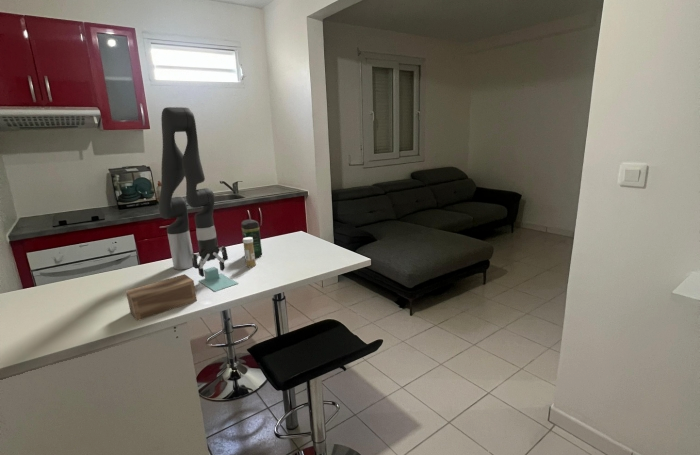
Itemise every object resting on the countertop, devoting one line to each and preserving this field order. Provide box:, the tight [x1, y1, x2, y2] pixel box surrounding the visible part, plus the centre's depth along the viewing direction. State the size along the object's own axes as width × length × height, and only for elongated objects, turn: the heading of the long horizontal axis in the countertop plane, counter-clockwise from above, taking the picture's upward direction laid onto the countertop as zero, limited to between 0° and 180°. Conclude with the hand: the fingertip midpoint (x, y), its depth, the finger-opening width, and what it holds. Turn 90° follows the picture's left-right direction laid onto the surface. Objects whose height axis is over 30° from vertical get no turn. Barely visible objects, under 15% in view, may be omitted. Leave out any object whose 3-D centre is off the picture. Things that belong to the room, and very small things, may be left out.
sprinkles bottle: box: [242, 237, 257, 268], centre depth 165 cm, size 5×5×14 cm
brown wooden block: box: [125, 273, 198, 322], centre depth 128 cm, size 9×20×8 cm, turn 133°
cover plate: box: [198, 266, 239, 293], centre depth 148 cm, size 16×10×5 cm, turn 44°
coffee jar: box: [240, 218, 263, 259], centre depth 178 cm, size 10×8×19 cm
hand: (212, 273), depth 152 cm, fingers open, 8 cm apart
